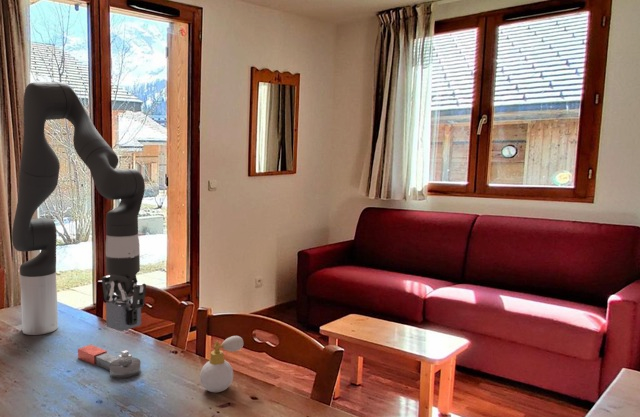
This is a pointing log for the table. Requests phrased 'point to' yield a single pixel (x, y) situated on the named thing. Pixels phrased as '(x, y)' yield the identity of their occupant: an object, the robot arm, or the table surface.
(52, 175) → the robot arm
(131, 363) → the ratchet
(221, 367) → the perfume bottle
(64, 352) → the table surface
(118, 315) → the cube with chrome knob
